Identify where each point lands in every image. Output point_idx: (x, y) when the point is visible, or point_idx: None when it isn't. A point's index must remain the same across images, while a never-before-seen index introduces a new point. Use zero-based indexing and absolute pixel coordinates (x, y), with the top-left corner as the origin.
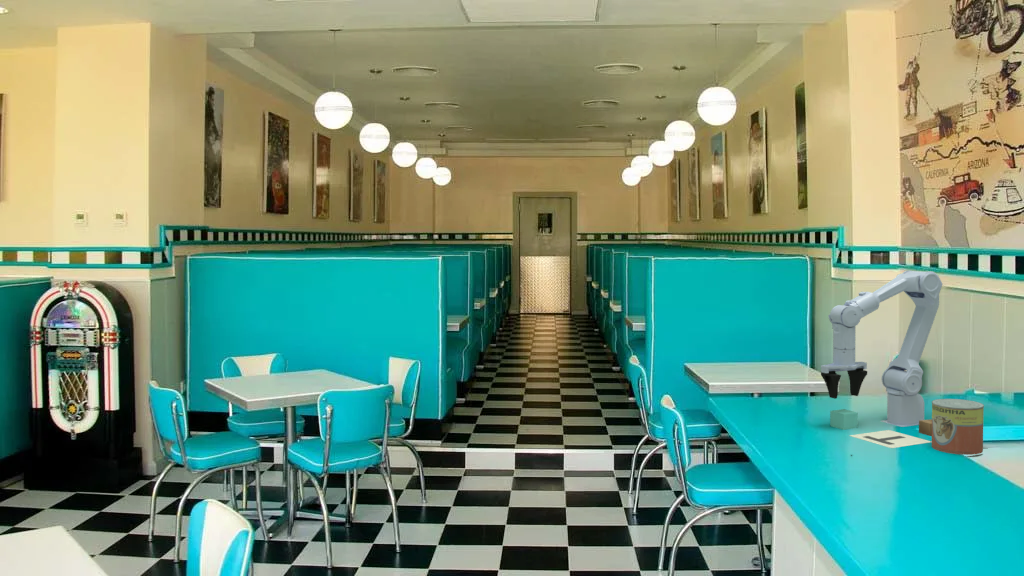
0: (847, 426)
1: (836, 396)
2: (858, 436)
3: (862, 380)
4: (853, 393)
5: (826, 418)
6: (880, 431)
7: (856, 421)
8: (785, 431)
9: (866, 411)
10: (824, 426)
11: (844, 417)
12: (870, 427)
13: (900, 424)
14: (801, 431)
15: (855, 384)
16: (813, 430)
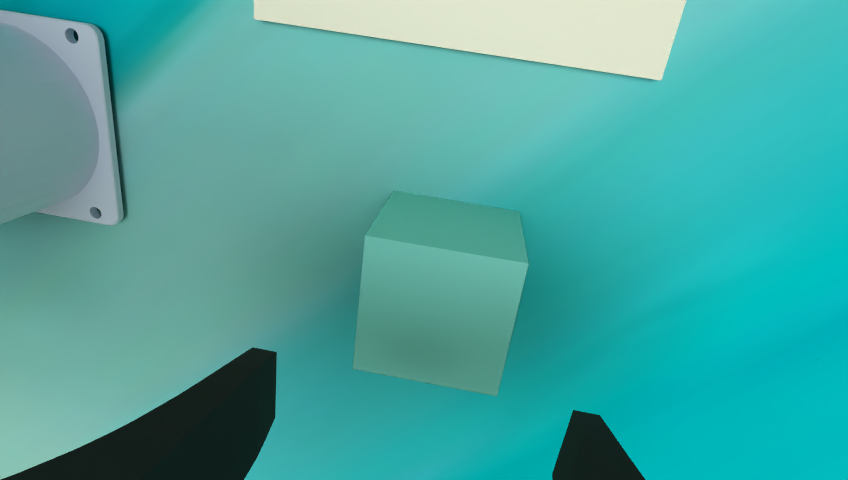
0: (486, 216)
1: (594, 424)
2: (634, 12)
3: (71, 463)
4: (266, 403)
5: (316, 449)
6: (347, 21)
7: (394, 211)
8: (799, 422)
9: (10, 412)
10: None
11: (518, 250)
12: (265, 184)
13: (67, 68)
14: (723, 370)
15: (196, 477)
16: (638, 343)
